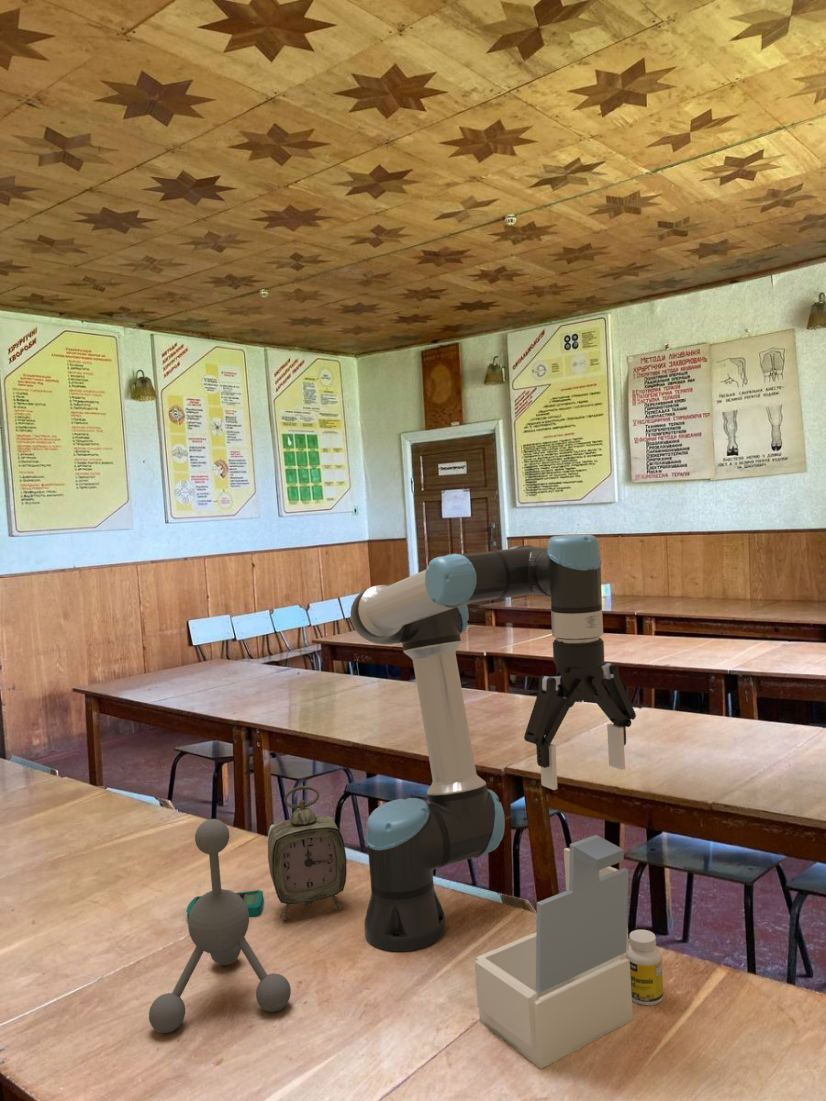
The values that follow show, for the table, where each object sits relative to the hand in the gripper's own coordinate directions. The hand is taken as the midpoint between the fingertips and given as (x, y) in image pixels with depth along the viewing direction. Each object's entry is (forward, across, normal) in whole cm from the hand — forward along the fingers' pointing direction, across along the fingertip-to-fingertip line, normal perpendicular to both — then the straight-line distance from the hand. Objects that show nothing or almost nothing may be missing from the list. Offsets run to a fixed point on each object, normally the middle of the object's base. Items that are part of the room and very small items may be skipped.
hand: (584, 777), depth 130 cm
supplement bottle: (+36, +8, -3) cm, 37 cm away
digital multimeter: (+38, -35, +68) cm, 86 cm away
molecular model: (+37, -48, +38) cm, 72 cm away
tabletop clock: (+38, -22, +58) cm, 72 cm away
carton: (+36, -7, 0) cm, 37 cm away
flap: (+15, -7, -6) cm, 18 cm away
